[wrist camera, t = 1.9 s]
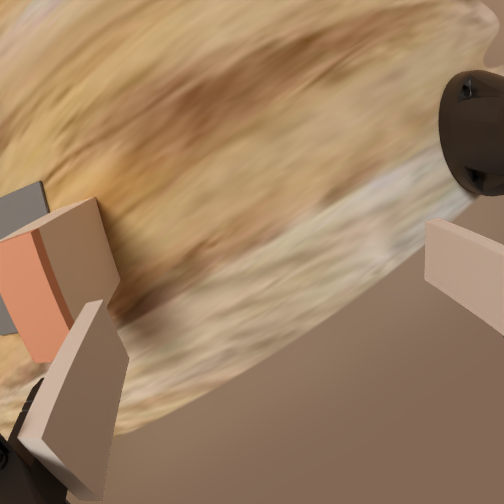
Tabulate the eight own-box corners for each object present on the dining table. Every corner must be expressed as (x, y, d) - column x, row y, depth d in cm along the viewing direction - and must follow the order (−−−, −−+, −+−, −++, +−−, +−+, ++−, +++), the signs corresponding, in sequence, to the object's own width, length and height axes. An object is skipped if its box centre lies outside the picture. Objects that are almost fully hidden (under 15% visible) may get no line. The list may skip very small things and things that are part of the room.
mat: (40, 180, 24) (39, 181, 23) (87, 317, 28) (86, 319, 28) (-44, 219, 22) (-46, 220, 22) (0, 333, 27) (-1, 335, 27)
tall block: (95, 196, 25) (30, 232, 14) (120, 280, 28) (82, 357, 17) (57, 208, 25) (-17, 249, 14) (84, 288, 27) (35, 363, 16)
